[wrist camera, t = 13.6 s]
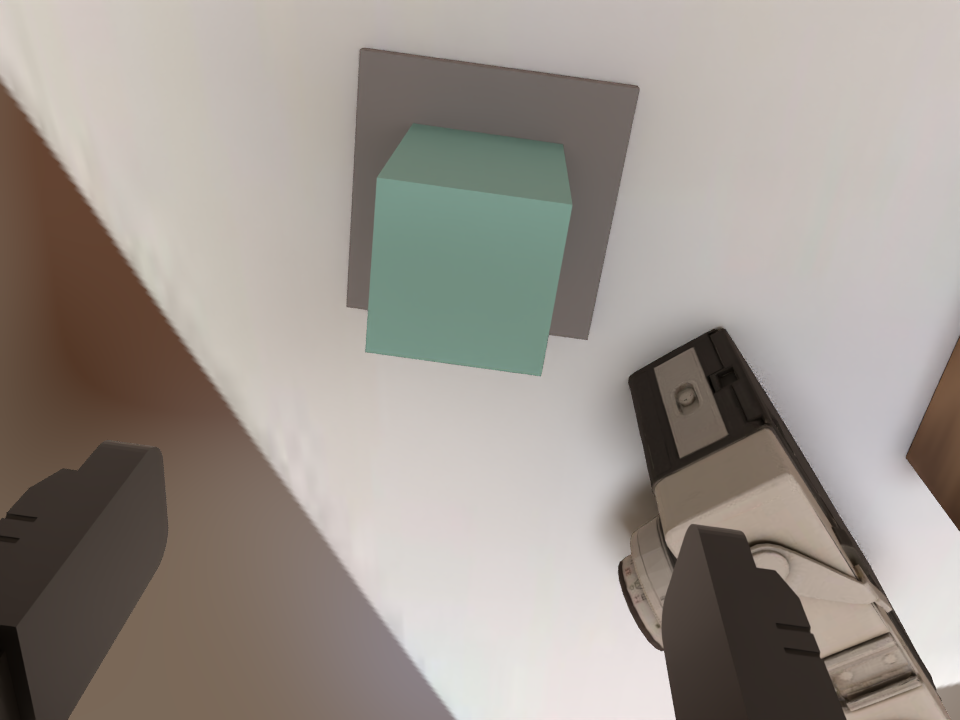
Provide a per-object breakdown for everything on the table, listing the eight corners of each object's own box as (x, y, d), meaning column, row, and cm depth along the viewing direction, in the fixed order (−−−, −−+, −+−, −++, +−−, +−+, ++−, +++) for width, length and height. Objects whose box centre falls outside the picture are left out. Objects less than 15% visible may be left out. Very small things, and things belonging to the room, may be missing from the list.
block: (413, 123, 27) (376, 177, 20) (562, 144, 27) (572, 204, 20) (401, 264, 29) (365, 352, 23) (539, 283, 29) (541, 376, 23)
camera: (539, 419, 32) (543, 598, 23) (726, 317, 30) (809, 474, 21) (703, 637, 37) (757, 854, 28) (875, 565, 35) (994, 777, 26)
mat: (363, 47, 26) (360, 49, 26) (637, 86, 26) (639, 88, 26) (349, 300, 30) (346, 307, 30) (586, 332, 30) (587, 340, 30)
